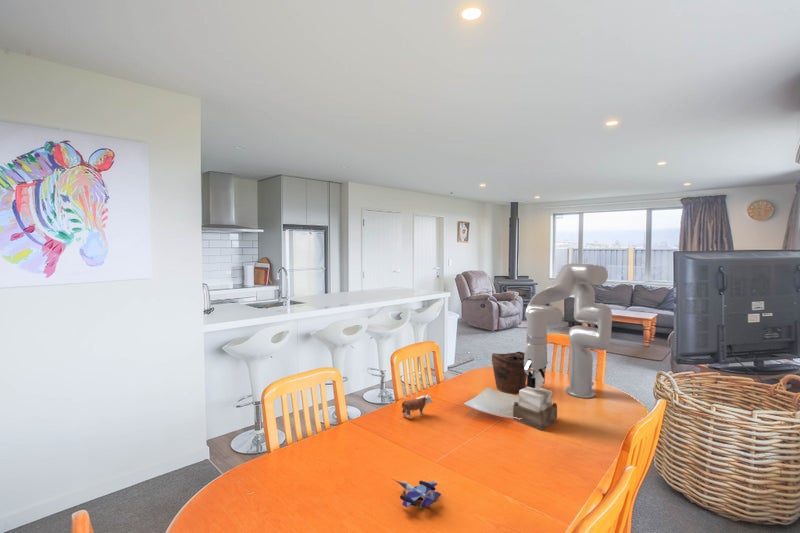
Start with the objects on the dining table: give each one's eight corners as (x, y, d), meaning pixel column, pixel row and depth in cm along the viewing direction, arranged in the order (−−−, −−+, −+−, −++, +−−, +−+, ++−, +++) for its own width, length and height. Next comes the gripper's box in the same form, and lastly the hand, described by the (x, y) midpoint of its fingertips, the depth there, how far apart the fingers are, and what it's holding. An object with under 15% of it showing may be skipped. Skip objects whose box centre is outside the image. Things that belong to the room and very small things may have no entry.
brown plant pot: (535, 385, 196) (535, 349, 195) (524, 399, 179) (524, 359, 178) (499, 379, 206) (499, 345, 205) (486, 392, 189) (485, 354, 188)
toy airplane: (389, 486, 115) (389, 474, 115) (437, 485, 116) (437, 473, 116) (389, 517, 102) (389, 504, 102) (443, 516, 103) (443, 503, 102)
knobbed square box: (529, 411, 166) (529, 383, 165) (556, 421, 157) (557, 391, 156) (513, 419, 158) (513, 390, 158) (541, 430, 149) (541, 399, 149)
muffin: (529, 384, 161) (530, 367, 161) (545, 386, 158) (546, 369, 158) (526, 388, 156) (526, 371, 156) (542, 391, 153) (542, 373, 152)
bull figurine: (434, 415, 162) (434, 395, 162) (403, 420, 158) (403, 400, 157) (429, 411, 167) (429, 392, 166) (399, 416, 162) (399, 396, 161)
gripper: (539, 334, 164) (538, 377, 166) (515, 341, 153) (515, 387, 154) (556, 338, 159) (555, 382, 160) (533, 345, 147) (532, 393, 148)
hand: (535, 384), depth 157 cm, fingers open, 6 cm apart
